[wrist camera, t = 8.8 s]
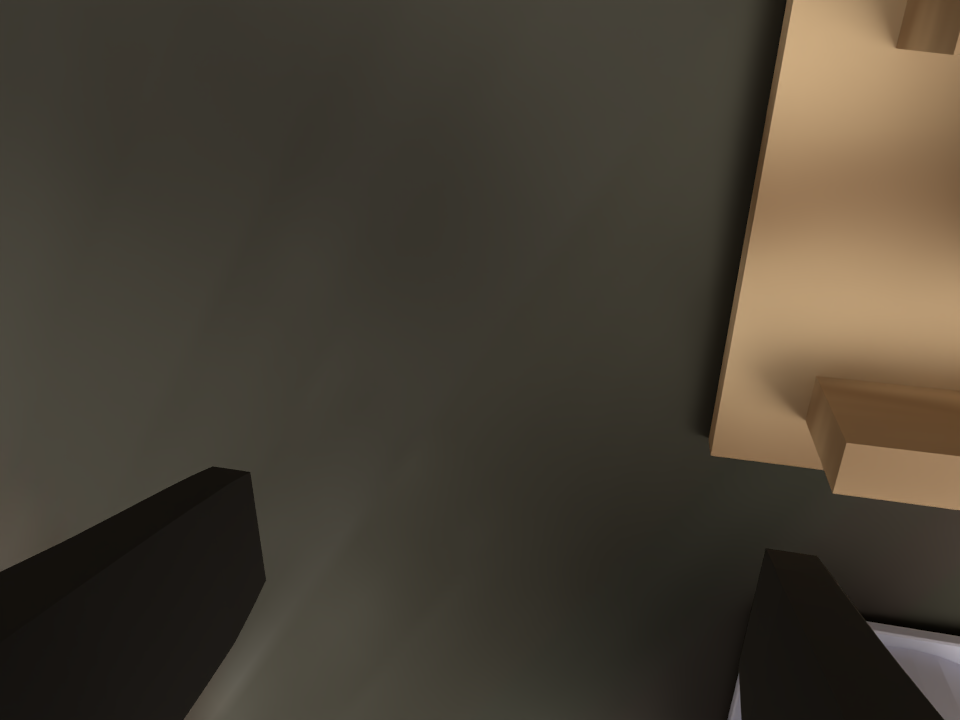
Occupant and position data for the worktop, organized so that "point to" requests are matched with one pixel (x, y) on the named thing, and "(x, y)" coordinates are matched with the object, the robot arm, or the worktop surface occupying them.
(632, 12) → the worktop surface
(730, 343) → the clip holder
